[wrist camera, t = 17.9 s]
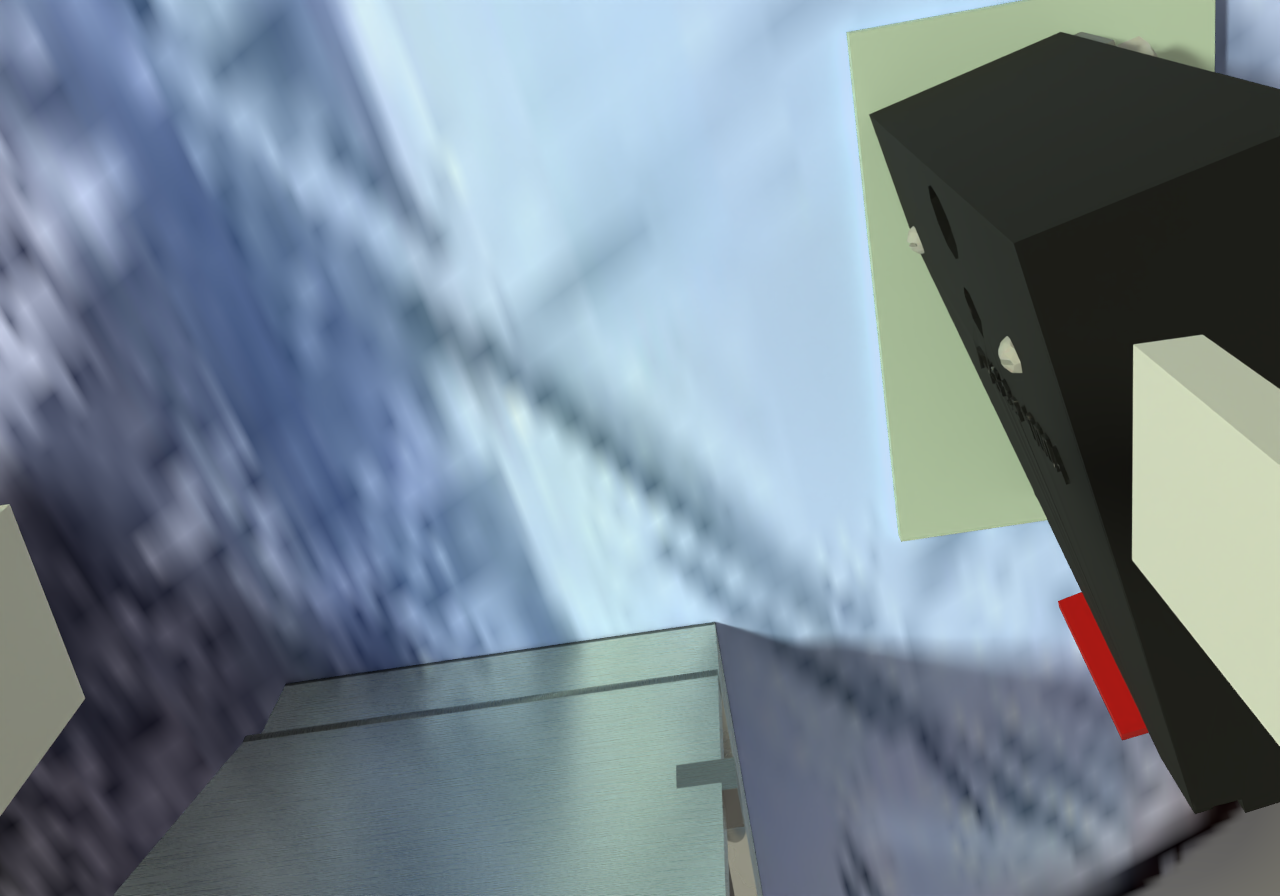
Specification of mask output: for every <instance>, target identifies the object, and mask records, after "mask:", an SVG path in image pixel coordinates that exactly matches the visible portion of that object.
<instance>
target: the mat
mask: <svg viewBox="0 0 1280 896" xmlns="http://www.w3.org/2000/svg"><path fill="white" fill-rule="evenodd" d="M1059 32H1064V33H1068V34H1071V35H1075V34H1077V33H1079V32H1084V33H1088V34H1092V35H1096V36H1100V37H1104V38H1108V39H1112V40H1114V41H1115V45H1119V44H1121V43H1123V42H1126V41H1128V40H1130V39H1133V38H1135V37H1137V36H1140V37H1141V38H1143V39H1144V40H1145V41H1147V42H1148V43H1149V44H1150V46H1151V48H1152V49H1153V50H1154V52H1155V53H1156V55H1157V56H1158V57H1159V58H1163V59H1166V60H1170V61H1174V62H1178V63H1182V64H1185V65H1189V66H1193V67H1197V68H1201V69H1204V70H1208V71H1212V72H1215V0H1022V1H1016V2H1011V3H1005V4H1000V5H994V6H989V7H983V8H978V9H972V10H967V11H961V12H956V13H950V14H945V15H939V16H934V17H928V18H923V19H917V20H912V21H906V22H901V23H895V24H890V25H884V26H879V27H873V28H867V29H862V30H856V31H851V32H847V42H848V52H849V61H850V71H851V81H852V90H853V100H854V109H855V119H856V129H857V138H858V148H859V158H860V167H861V177H862V187H863V196H864V206H865V216H866V225H867V235H868V244H869V254H870V264H871V273H872V283H873V293H874V302H875V312H876V322H877V331H878V341H879V350H880V360H881V370H882V379H883V389H884V399H885V408H886V418H887V428H888V437H889V447H890V457H891V466H892V476H893V485H894V495H895V505H896V514H897V524H898V534H899V537H900V540H901V542H902V541H908V540H915V539H922V538H929V537H936V536H942V535H949V534H956V533H963V532H969V531H976V530H983V529H990V528H996V527H1003V526H1010V525H1017V524H1024V523H1030V522H1037V521H1044V520H1047V518H1046V516H1045V514H1044V512H1043V510H1042V507H1041V505H1040V503H1039V501H1038V499H1037V498H1036V496H1035V494H1034V491H1033V489H1032V487H1031V484H1030V482H1029V480H1028V478H1027V476H1026V474H1025V472H1024V470H1023V468H1022V466H1021V463H1020V461H1019V459H1018V457H1017V455H1016V453H1015V451H1014V449H1013V447H1012V445H1011V443H1010V440H1009V438H1008V436H1007V434H1006V432H1005V430H1004V428H1003V426H1002V424H1001V422H1000V419H999V417H998V415H997V413H996V411H995V409H994V407H993V405H992V403H991V401H990V399H989V396H988V394H987V392H986V390H985V388H984V386H983V384H982V382H981V380H980V378H979V375H978V373H977V371H976V369H975V367H974V365H973V363H972V361H971V359H970V357H969V354H968V352H967V350H966V348H965V346H964V344H963V342H962V340H961V338H960V336H959V334H958V331H957V329H956V327H955V325H954V323H953V321H952V319H951V317H950V315H949V313H948V310H947V308H946V306H945V304H944V302H943V300H942V298H941V296H940V294H939V292H938V290H937V287H936V285H935V283H934V281H933V279H932V277H931V275H930V273H929V271H928V269H927V266H926V264H925V262H924V260H923V258H922V256H921V254H919V253H917V252H915V251H913V250H911V248H910V247H909V245H910V243H908V241H907V238H908V232H909V230H910V228H909V226H908V223H907V220H906V217H905V214H904V211H903V209H902V206H901V203H900V200H899V197H898V195H897V192H896V189H895V186H894V183H893V181H892V178H891V175H890V172H889V169H888V167H887V164H886V161H885V158H884V155H883V152H882V150H881V147H880V144H879V141H878V138H877V136H876V133H875V130H874V127H873V124H872V122H871V119H870V116H869V114H871V113H873V112H876V111H878V110H880V109H883V108H885V107H887V106H890V105H892V104H894V103H897V102H899V101H901V100H904V99H906V98H908V97H911V96H913V95H915V94H918V93H920V92H922V91H924V90H927V89H929V88H931V87H934V86H936V85H938V84H941V83H943V82H945V81H948V80H950V79H952V78H955V77H957V76H959V75H962V74H964V73H966V72H969V71H971V70H973V69H976V68H978V67H980V66H983V65H985V64H987V63H989V62H992V61H994V60H996V59H999V58H1001V57H1003V56H1006V55H1008V54H1010V53H1013V52H1015V51H1017V50H1020V49H1022V48H1024V47H1027V46H1029V45H1031V44H1034V43H1036V42H1038V41H1041V40H1043V39H1045V38H1048V37H1050V36H1052V35H1054V34H1057V33H1059Z"/></svg>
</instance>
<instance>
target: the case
mask: <svg viewBox="0 0 1280 896" xmlns="http://www.w3.org/2000/svg"><path fill="white" fill-rule="evenodd" d="M113 896H763V894H762V888H761V882H760V877H759V871H758V865H757V860H756V854H755V848H754V843H753V837H752V831H751V825H750V820H749V814H748V808H747V803H746V797H745V791H744V785H743V780H742V774H741V768H740V763H739V757H738V751H737V746H736V740H735V734H734V728H733V723H732V717H731V711H730V706H729V700H728V694H727V688H726V683H725V677H724V671H723V666H722V660H721V654H720V649H719V643H718V637H717V631H716V626H715V622H712V623H705V624H698V625H691V626H684V627H677V628H670V629H663V630H656V631H649V632H642V633H635V634H628V635H622V636H615V637H608V638H601V639H594V640H587V641H580V642H573V643H566V644H559V645H552V646H545V647H538V648H531V649H524V650H517V651H510V652H504V653H497V654H490V655H483V656H476V657H469V658H462V659H455V660H448V661H441V662H434V663H427V664H420V665H413V666H406V667H399V668H393V669H386V670H379V671H372V672H365V673H358V674H351V675H344V676H337V677H330V678H323V679H316V680H309V681H302V682H295V683H288V684H286V685H285V687H284V689H283V691H282V693H281V695H280V697H279V699H278V701H277V703H276V705H275V707H274V709H273V711H272V713H271V715H270V717H269V719H268V721H267V723H266V726H265V728H264V730H263V732H262V733H261V734H254V735H247V736H246V737H245V738H244V741H243V743H242V744H241V745H240V746H239V748H238V749H237V750H236V751H235V752H234V753H233V755H232V756H231V757H230V758H229V759H228V760H227V762H226V763H225V764H224V765H223V766H222V768H221V769H220V770H219V771H218V772H217V773H216V775H215V776H214V777H213V778H212V779H211V781H210V782H209V783H208V784H207V785H206V786H205V788H204V789H203V790H202V791H201V792H200V793H199V795H198V796H197V797H196V798H195V799H194V801H193V802H192V803H191V804H190V805H189V806H188V808H187V809H186V810H185V811H184V812H183V814H182V815H181V816H180V817H179V818H178V819H177V821H176V822H175V823H174V824H173V825H172V826H171V828H170V829H169V830H168V831H167V832H166V834H165V835H164V836H163V837H162V838H161V839H160V841H159V842H158V843H157V844H156V845H155V847H154V848H153V849H152V850H151V851H150V852H149V854H148V855H147V856H146V857H145V858H144V859H143V861H142V862H141V863H140V864H139V865H138V867H137V868H136V869H135V870H134V871H133V872H132V874H131V875H130V876H129V877H128V878H127V880H126V881H125V882H124V883H123V884H122V885H121V887H120V888H119V889H118V890H117V891H116V892H115V894H114V895H113Z"/></svg>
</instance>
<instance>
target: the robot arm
mask: <svg viewBox="0 0 1280 896" xmlns="http://www.w3.org/2000/svg"><path fill="white" fill-rule="evenodd" d="M1132 560H1133V562H1134V563H1135V564H1136V565H1137V567H1138V568H1139V569H1140V571H1141V572H1142V573H1143V574H1144V576H1145V577H1146V578H1147V579H1148V581H1149V582H1150V583H1151V584H1152V586H1153V587H1154V588H1155V589H1156V591H1157V592H1158V593H1159V595H1160V596H1161V597H1162V598H1163V600H1164V601H1165V602H1166V603H1167V605H1168V606H1169V607H1170V608H1171V610H1172V611H1173V612H1174V613H1175V615H1176V616H1177V617H1178V619H1179V620H1180V621H1181V622H1182V624H1183V625H1184V626H1185V627H1186V629H1187V630H1188V631H1189V632H1190V634H1191V635H1192V636H1193V637H1194V639H1195V640H1196V641H1197V643H1198V644H1199V645H1200V646H1201V648H1202V649H1203V650H1204V651H1205V653H1206V654H1207V655H1208V656H1209V658H1210V659H1211V660H1212V661H1213V663H1214V664H1215V665H1216V666H1217V668H1218V669H1219V670H1220V672H1221V673H1222V674H1223V675H1224V677H1225V678H1226V679H1227V680H1228V682H1229V683H1230V684H1231V685H1232V687H1233V688H1234V689H1235V690H1236V692H1237V693H1238V694H1239V696H1240V697H1241V698H1242V699H1243V701H1244V702H1245V703H1246V704H1247V706H1248V707H1249V708H1250V709H1251V711H1252V712H1253V713H1254V714H1255V716H1256V717H1257V718H1258V720H1259V721H1260V722H1261V723H1262V725H1263V726H1264V727H1265V728H1266V730H1267V731H1268V732H1269V733H1270V735H1271V736H1272V737H1273V738H1274V740H1275V741H1276V742H1277V744H1278V745H1279V746H1280V389H1279V388H1277V387H1276V386H1275V385H1273V384H1272V383H1270V382H1269V381H1267V380H1266V379H1265V378H1263V377H1262V376H1260V375H1259V374H1258V373H1256V372H1255V371H1253V370H1252V369H1250V368H1249V367H1248V366H1246V365H1245V364H1243V363H1242V362H1241V361H1239V360H1238V359H1236V358H1235V357H1234V356H1232V355H1231V354H1229V353H1228V352H1226V351H1225V350H1224V349H1222V348H1221V347H1219V346H1218V345H1217V344H1215V343H1214V342H1212V341H1211V340H1209V339H1208V338H1207V337H1205V336H1204V335H1197V336H1189V337H1182V338H1175V339H1168V340H1161V341H1154V342H1147V343H1140V344H1133V483H1132ZM84 699H85V696H84V694H83V691H82V689H81V686H80V684H79V681H78V679H77V676H76V673H75V671H74V668H73V666H72V663H71V661H70V658H69V655H68V653H67V650H66V648H65V645H64V643H63V640H62V637H61V635H60V632H59V630H58V627H57V625H56V622H55V619H54V617H53V614H52V612H51V609H50V607H49V604H48V602H47V599H46V596H45V594H44V591H43V589H42V586H41V584H40V581H39V578H38V576H37V573H36V571H35V568H34V566H33V563H32V560H31V558H30V555H29V553H28V550H27V548H26V545H25V542H24V540H23V537H22V535H21V532H20V530H19V527H18V524H17V522H16V519H15V517H14V514H13V512H12V509H11V507H10V504H7V505H0V816H1V815H2V813H3V812H4V810H5V809H6V808H7V806H8V805H9V803H10V802H11V801H12V799H13V798H14V797H15V795H16V794H17V792H18V791H19V790H20V788H21V787H22V785H23V784H24V783H25V781H26V780H27V778H28V777H29V776H30V774H31V773H32V772H33V770H34V769H35V767H36V766H37V765H38V763H39V762H40V760H41V759H42V758H43V756H44V755H45V754H46V752H47V751H48V749H49V748H50V747H51V745H52V744H53V742H54V741H55V740H56V738H57V737H58V736H59V734H60V733H61V731H62V730H63V729H64V727H65V726H66V724H67V723H68V722H69V720H70V719H71V718H72V716H73V715H74V713H75V712H76V711H77V709H78V708H79V706H80V705H81V704H82V702H83V701H84Z"/></svg>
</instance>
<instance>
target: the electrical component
mask: <svg viewBox="0 0 1280 896" xmlns="http://www.w3.org/2000/svg"><path fill="white" fill-rule="evenodd" d="M869 116H870V119H871V122H872V124H873V127H874V130H875V133H876V136H877V138H878V141H879V144H880V147H881V150H882V152H883V155H884V158H885V161H886V164H887V167H888V169H889V172H890V175H891V178H892V181H893V183H894V186H895V189H896V192H897V195H898V197H899V200H900V203H901V206H902V209H903V211H904V214H905V217H906V220H907V223H908V226H909V228H910V230H909V232H908V238H907V241H908V243H910V245H909V247H910V248H911V250H913V251H915V252H917V253H919V254H921V256H922V258H923V260H924V262H925V264H926V266H927V269H928V271H929V273H930V275H931V277H932V279H933V281H934V283H935V285H936V287H937V290H938V292H939V294H940V296H941V298H942V300H943V302H944V304H945V306H946V308H947V310H948V313H949V315H950V317H951V319H952V321H953V323H954V325H955V327H956V329H957V331H958V334H959V336H960V338H961V340H962V342H963V344H964V346H965V348H966V350H967V352H968V354H969V357H970V359H971V361H972V363H973V365H974V367H975V369H976V371H977V373H978V375H979V378H980V380H981V382H982V384H983V386H984V388H985V390H986V392H987V394H988V396H989V399H990V401H991V403H992V405H993V407H994V409H995V411H996V413H997V415H998V417H999V419H1000V422H1001V424H1002V426H1003V428H1004V430H1005V432H1006V434H1007V436H1008V438H1009V440H1010V443H1011V445H1012V447H1013V449H1014V451H1015V453H1016V455H1017V457H1018V459H1019V461H1020V463H1021V466H1022V468H1023V470H1024V472H1025V474H1026V476H1027V478H1028V480H1029V482H1030V484H1031V487H1032V489H1033V491H1034V494H1035V496H1036V498H1037V499H1038V501H1039V503H1040V505H1041V507H1042V510H1043V512H1044V514H1045V516H1046V518H1047V520H1048V522H1049V524H1050V526H1051V528H1052V531H1053V533H1054V535H1055V537H1056V539H1057V541H1058V543H1059V545H1060V547H1061V549H1062V551H1063V554H1064V556H1065V558H1066V560H1067V562H1068V564H1069V566H1070V568H1071V570H1072V572H1073V575H1074V577H1075V579H1076V581H1077V583H1078V585H1079V587H1080V589H1081V591H1082V592H1081V593H1078V594H1075V595H1073V596H1070V597H1068V598H1065V599H1063V600H1060V601H1058V603H1059V608H1060V610H1061V612H1062V614H1063V616H1064V618H1065V621H1066V623H1067V625H1068V627H1069V629H1070V631H1071V633H1072V635H1073V637H1074V640H1075V642H1076V644H1077V646H1078V648H1079V650H1080V652H1081V654H1082V656H1083V659H1084V661H1085V663H1086V665H1087V667H1088V669H1089V671H1090V673H1091V675H1092V678H1093V680H1094V682H1095V684H1096V686H1097V688H1098V690H1099V692H1100V694H1101V697H1102V699H1103V701H1104V703H1105V705H1106V707H1107V709H1108V711H1109V713H1110V716H1111V718H1112V720H1113V722H1114V724H1115V726H1116V728H1117V730H1118V733H1119V735H1120V737H1121V739H1122V740H1126V739H1129V738H1132V737H1136V736H1139V735H1142V734H1146V733H1149V734H1150V736H1151V738H1152V740H1153V742H1154V744H1155V746H1156V748H1157V751H1158V753H1159V755H1160V757H1161V759H1162V760H1163V762H1164V764H1165V765H1166V767H1167V769H1168V770H1169V772H1170V774H1171V775H1172V777H1173V779H1174V780H1175V782H1176V784H1177V785H1178V787H1179V789H1180V790H1181V792H1182V793H1183V795H1184V797H1185V798H1186V800H1187V802H1188V803H1189V805H1190V807H1191V808H1192V810H1193V812H1194V813H1195V814H1197V813H1201V812H1204V811H1207V810H1210V809H1213V808H1212V806H1216V805H1220V804H1225V803H1229V802H1233V801H1238V802H1239V804H1240V805H1241V807H1242V808H1243V810H1244V811H1245V813H1247V812H1250V811H1253V810H1256V809H1259V808H1262V807H1266V806H1269V805H1272V804H1275V803H1279V802H1280V746H1279V745H1278V744H1277V742H1276V741H1275V740H1274V738H1273V737H1272V736H1271V735H1270V733H1269V732H1268V731H1267V730H1266V728H1265V727H1264V726H1263V725H1262V723H1261V722H1260V721H1259V720H1258V718H1257V717H1256V716H1255V714H1254V713H1253V712H1252V711H1251V709H1250V708H1249V707H1248V706H1247V704H1246V703H1245V702H1244V701H1243V699H1242V698H1241V697H1240V696H1239V694H1238V693H1237V692H1236V690H1235V689H1234V688H1233V687H1232V685H1231V684H1230V683H1229V682H1228V680H1227V679H1226V678H1225V677H1224V675H1223V674H1222V673H1221V672H1220V670H1219V669H1218V668H1217V666H1216V665H1215V664H1214V663H1213V661H1212V660H1211V659H1210V658H1209V656H1208V655H1207V654H1206V653H1205V651H1204V650H1203V649H1202V648H1201V646H1200V645H1199V644H1198V643H1197V641H1196V640H1195V639H1194V637H1193V636H1192V635H1191V634H1190V632H1189V631H1188V630H1187V629H1186V627H1185V626H1184V625H1183V624H1182V622H1181V621H1180V620H1179V619H1178V617H1177V616H1176V615H1175V613H1174V612H1173V611H1172V610H1171V608H1170V607H1169V606H1168V605H1167V603H1166V602H1165V601H1164V600H1163V598H1162V597H1161V596H1160V595H1159V593H1158V592H1157V591H1156V589H1155V588H1154V587H1153V586H1152V584H1151V583H1150V582H1149V581H1148V579H1147V578H1146V577H1145V576H1144V574H1143V573H1142V572H1141V571H1140V569H1139V568H1138V567H1137V565H1136V564H1135V563H1134V562H1133V560H1132V483H1133V344H1140V343H1147V342H1154V341H1161V340H1168V339H1175V338H1182V337H1189V336H1197V335H1204V336H1205V337H1207V338H1208V339H1209V340H1211V341H1212V342H1214V343H1215V344H1217V345H1218V346H1219V347H1221V348H1222V349H1224V350H1225V351H1226V352H1228V353H1229V354H1231V355H1232V356H1234V357H1235V358H1236V359H1238V360H1239V361H1241V362H1242V363H1243V364H1245V365H1246V366H1248V367H1249V368H1250V369H1252V370H1253V371H1255V372H1256V373H1258V374H1259V375H1260V376H1262V377H1263V378H1265V379H1266V380H1267V381H1269V382H1270V383H1272V384H1273V385H1275V386H1276V387H1277V388H1279V389H1280V89H1277V88H1273V87H1269V86H1265V85H1261V84H1258V83H1254V82H1250V81H1246V80H1242V79H1239V78H1235V77H1231V76H1227V75H1223V74H1220V73H1216V72H1212V71H1208V70H1204V69H1201V68H1197V67H1193V66H1189V65H1185V64H1182V63H1178V62H1174V61H1170V60H1166V59H1163V58H1159V57H1158V56H1157V55H1156V53H1155V52H1154V50H1153V49H1152V48H1151V46H1150V44H1149V43H1148V42H1147V41H1145V40H1144V39H1143V38H1141V37H1140V36H1137V37H1135V38H1133V39H1130V40H1128V41H1126V42H1123V43H1121V44H1119V45H1115V41H1114V40H1112V39H1108V38H1104V37H1100V36H1096V35H1092V34H1088V33H1084V32H1079V33H1077V34H1075V35H1071V34H1068V33H1064V32H1059V33H1057V34H1054V35H1052V36H1050V37H1048V38H1045V39H1043V40H1041V41H1038V42H1036V43H1034V44H1031V45H1029V46H1027V47H1024V48H1022V49H1020V50H1017V51H1015V52H1013V53H1010V54H1008V55H1006V56H1003V57H1001V58H999V59H996V60H994V61H992V62H989V63H987V64H985V65H983V66H980V67H978V68H976V69H973V70H971V71H969V72H966V73H964V74H962V75H959V76H957V77H955V78H952V79H950V80H948V81H945V82H943V83H941V84H938V85H936V86H934V87H931V88H929V89H927V90H924V91H922V92H920V93H918V94H915V95H913V96H911V97H908V98H906V99H904V100H901V101H899V102H897V103H894V104H892V105H890V106H887V107H885V108H883V109H880V110H878V111H876V112H873V113H871V114H869Z"/></svg>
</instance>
